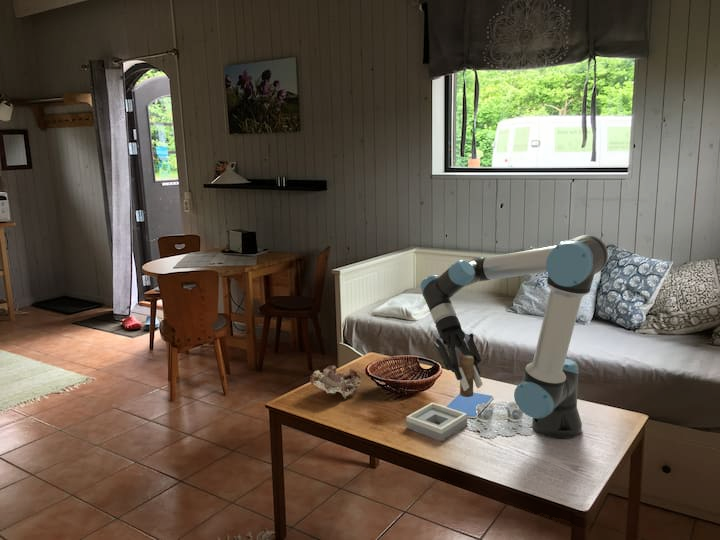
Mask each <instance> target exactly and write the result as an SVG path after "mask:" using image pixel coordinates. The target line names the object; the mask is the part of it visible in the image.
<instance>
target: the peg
mask: <svg viewBox="0 0 720 540" xmlns="http://www.w3.org/2000/svg"><path fill="white" fill-rule="evenodd" d="M460 367H462V370H463V372H464V375H465V377H466V380H467V382H468V385H469V388H468V389H467V390H466V391H464V390H463V388H462V385H461V382H460V381H459V393H460V395H461V396H463V397H471V396H473V392H474V379H473V356H470V355H463V354H462V355H461V356H459V368H460Z"/></svg>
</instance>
